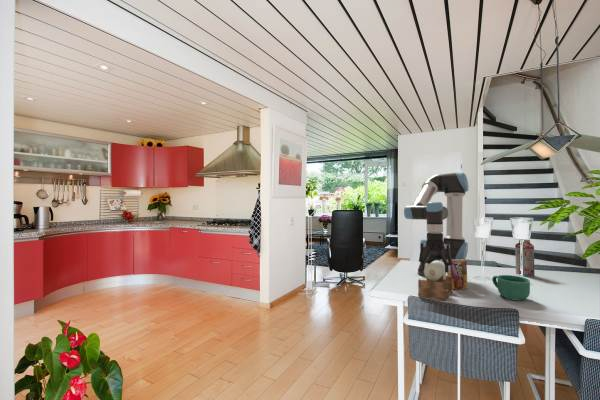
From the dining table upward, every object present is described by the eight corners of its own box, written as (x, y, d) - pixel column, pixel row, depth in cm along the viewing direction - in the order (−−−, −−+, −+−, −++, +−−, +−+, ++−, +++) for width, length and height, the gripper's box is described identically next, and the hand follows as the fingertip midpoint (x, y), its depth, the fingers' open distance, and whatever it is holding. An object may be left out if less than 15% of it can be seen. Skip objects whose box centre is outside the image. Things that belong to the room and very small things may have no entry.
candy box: (463, 287, 159) (462, 258, 159) (467, 289, 155) (467, 260, 155) (446, 287, 159) (446, 259, 159) (451, 289, 155) (450, 260, 155)
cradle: (418, 296, 144) (418, 279, 144) (427, 287, 159) (427, 272, 159) (444, 300, 137) (444, 283, 137) (452, 291, 151) (452, 275, 151)
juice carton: (534, 276, 180) (533, 240, 181) (523, 276, 180) (523, 240, 181) (526, 273, 187) (525, 239, 187) (515, 273, 187) (515, 239, 187)
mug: (537, 301, 135) (536, 280, 135) (514, 303, 133) (514, 282, 133) (505, 290, 152) (505, 272, 152) (484, 292, 149) (484, 274, 149)
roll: (430, 274, 155) (429, 259, 155) (446, 276, 150) (446, 261, 150) (423, 279, 145) (423, 263, 146) (441, 281, 140) (440, 265, 141)
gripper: (411, 232, 151) (412, 276, 151) (456, 234, 139) (457, 282, 138) (415, 230, 157) (416, 273, 157) (459, 233, 145) (459, 279, 144)
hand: (435, 277), depth 148 cm, fingers closed on roll, 8 cm apart
